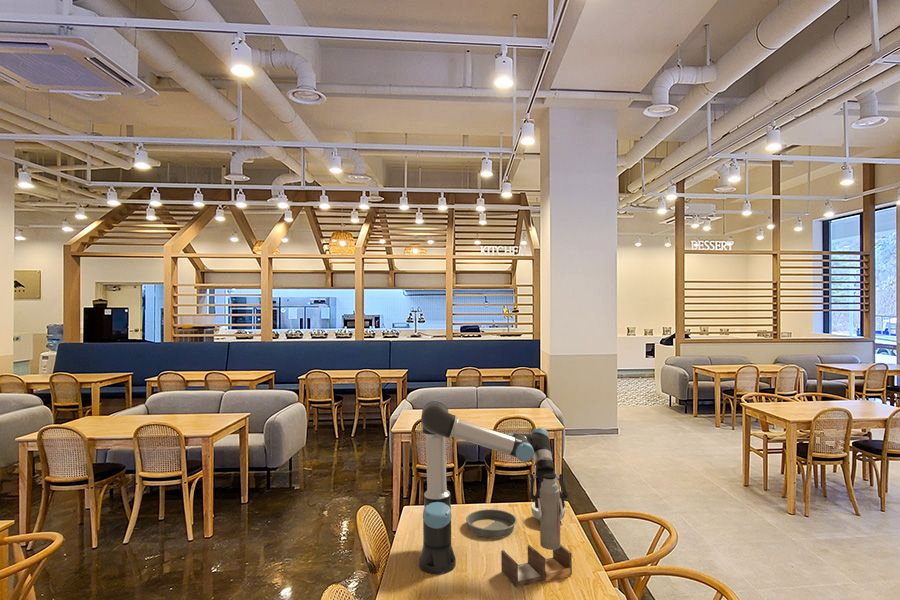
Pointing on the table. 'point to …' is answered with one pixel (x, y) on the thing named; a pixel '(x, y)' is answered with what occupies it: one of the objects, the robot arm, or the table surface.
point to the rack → (537, 567)
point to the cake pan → (498, 528)
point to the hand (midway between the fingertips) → (551, 515)
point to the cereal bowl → (536, 513)
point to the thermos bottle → (550, 513)
